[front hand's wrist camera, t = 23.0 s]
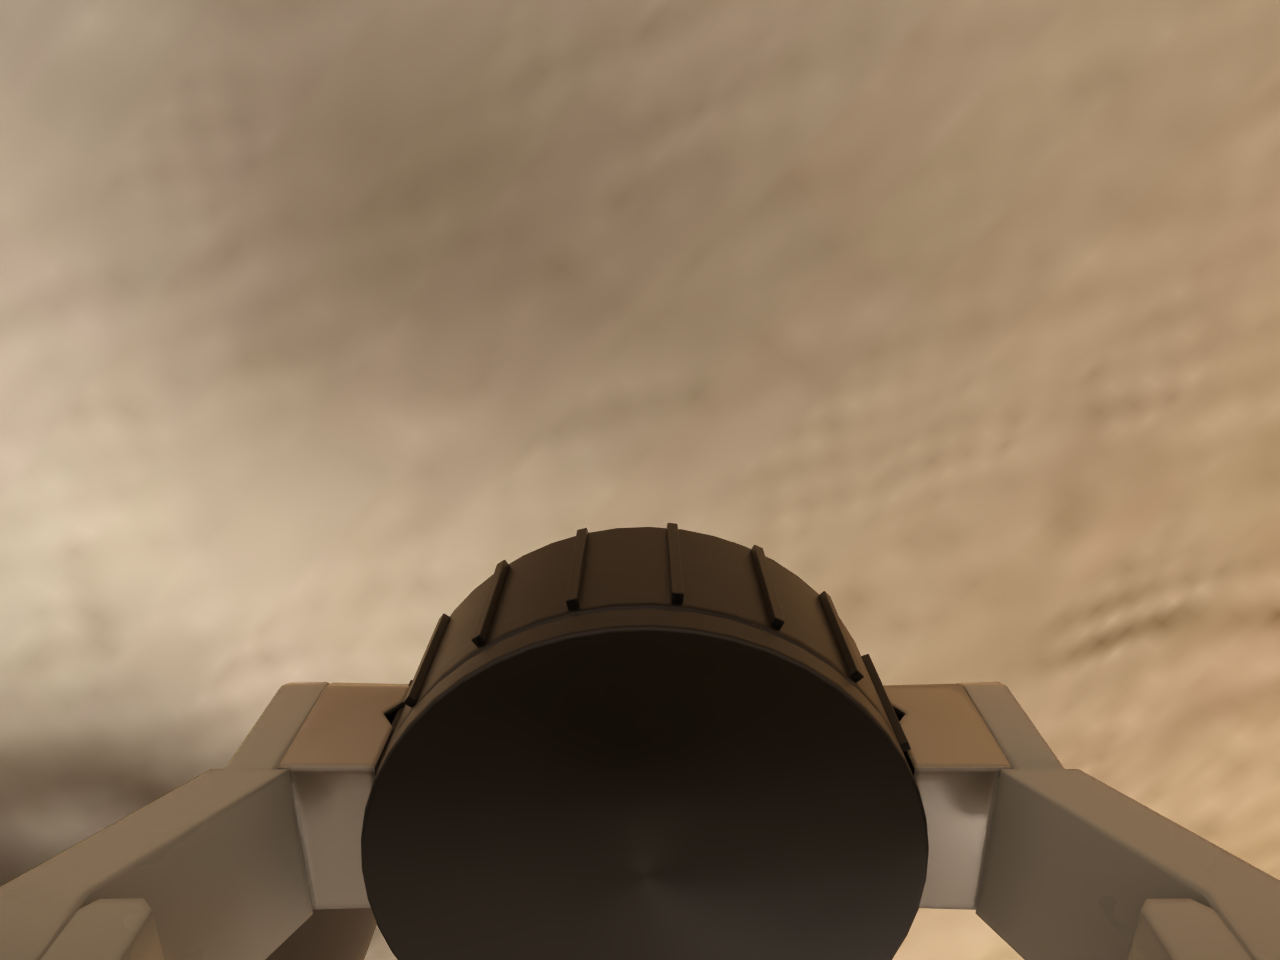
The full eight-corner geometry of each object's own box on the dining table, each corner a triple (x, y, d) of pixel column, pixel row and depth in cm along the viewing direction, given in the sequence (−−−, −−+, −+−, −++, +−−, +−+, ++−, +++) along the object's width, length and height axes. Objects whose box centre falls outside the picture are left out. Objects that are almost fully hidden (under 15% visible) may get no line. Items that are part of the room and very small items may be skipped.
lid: (491, 945, 12) (459, 1117, 10) (342, 577, 10) (262, 692, 8) (905, 867, 11) (966, 1030, 9) (834, 466, 9) (890, 556, 7)
